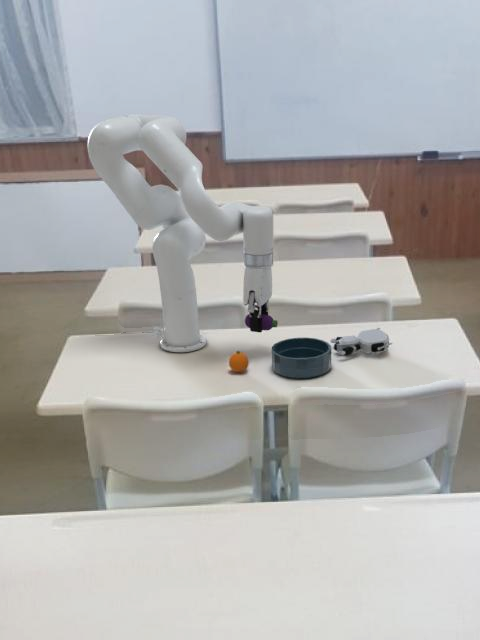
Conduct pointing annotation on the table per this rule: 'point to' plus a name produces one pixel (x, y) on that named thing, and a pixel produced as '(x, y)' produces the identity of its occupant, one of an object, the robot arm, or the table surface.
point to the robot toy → (362, 342)
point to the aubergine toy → (263, 322)
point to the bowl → (301, 357)
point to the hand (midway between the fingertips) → (259, 327)
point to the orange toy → (238, 361)
